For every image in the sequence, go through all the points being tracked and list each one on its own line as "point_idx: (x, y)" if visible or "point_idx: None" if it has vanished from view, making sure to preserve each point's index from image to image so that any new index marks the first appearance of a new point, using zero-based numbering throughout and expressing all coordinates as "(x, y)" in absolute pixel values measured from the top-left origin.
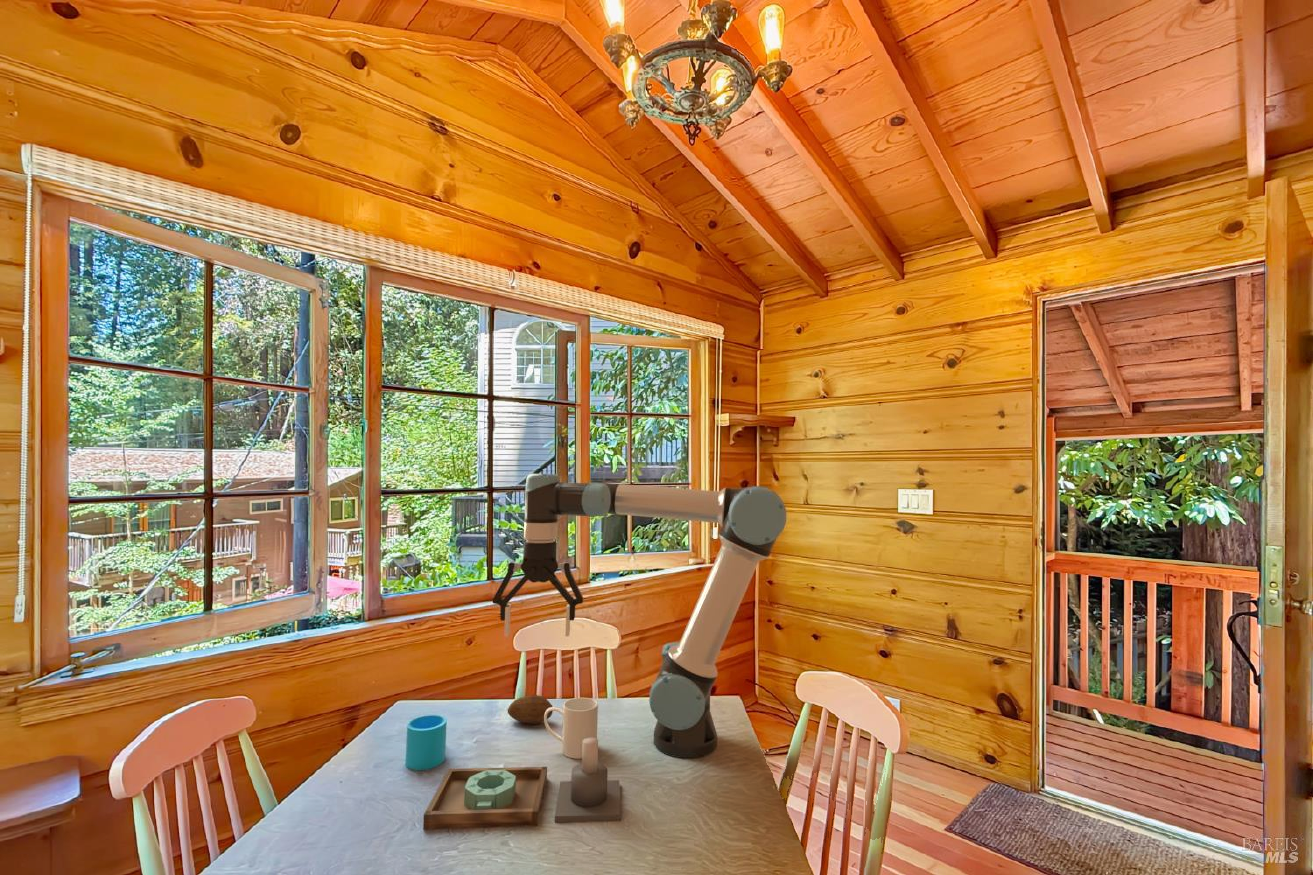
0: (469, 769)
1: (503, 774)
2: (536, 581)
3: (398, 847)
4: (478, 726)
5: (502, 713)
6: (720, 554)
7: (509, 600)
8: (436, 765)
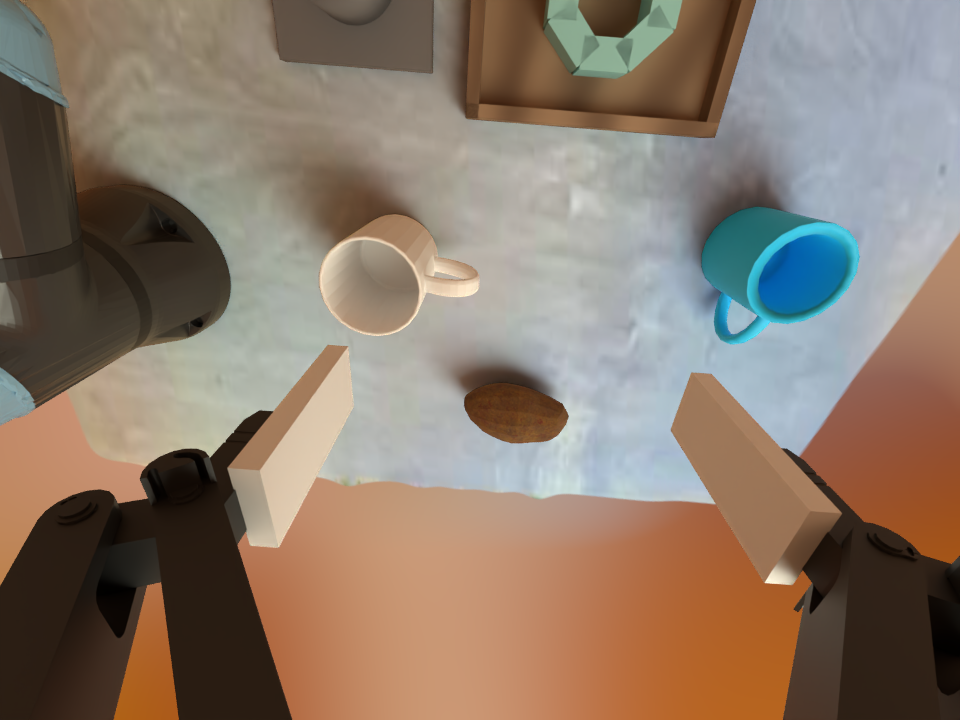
0: (663, 126)
1: (581, 37)
2: None
3: None
4: (624, 392)
5: (573, 442)
6: None
7: (850, 571)
8: (723, 221)
